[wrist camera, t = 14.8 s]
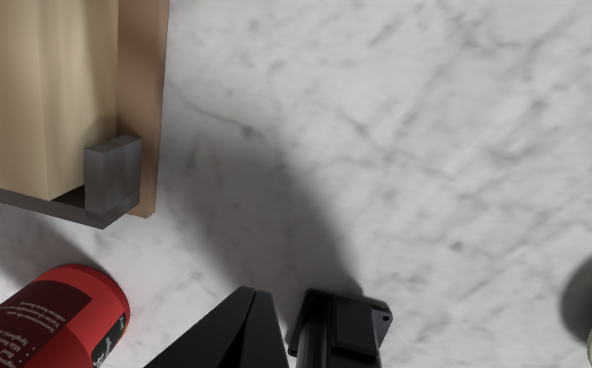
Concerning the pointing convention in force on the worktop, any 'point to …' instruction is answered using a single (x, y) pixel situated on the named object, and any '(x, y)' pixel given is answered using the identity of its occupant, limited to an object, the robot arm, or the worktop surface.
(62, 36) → the beige wooden bar
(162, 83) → the frame
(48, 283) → the canned food
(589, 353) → the saucer
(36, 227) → the worktop surface
